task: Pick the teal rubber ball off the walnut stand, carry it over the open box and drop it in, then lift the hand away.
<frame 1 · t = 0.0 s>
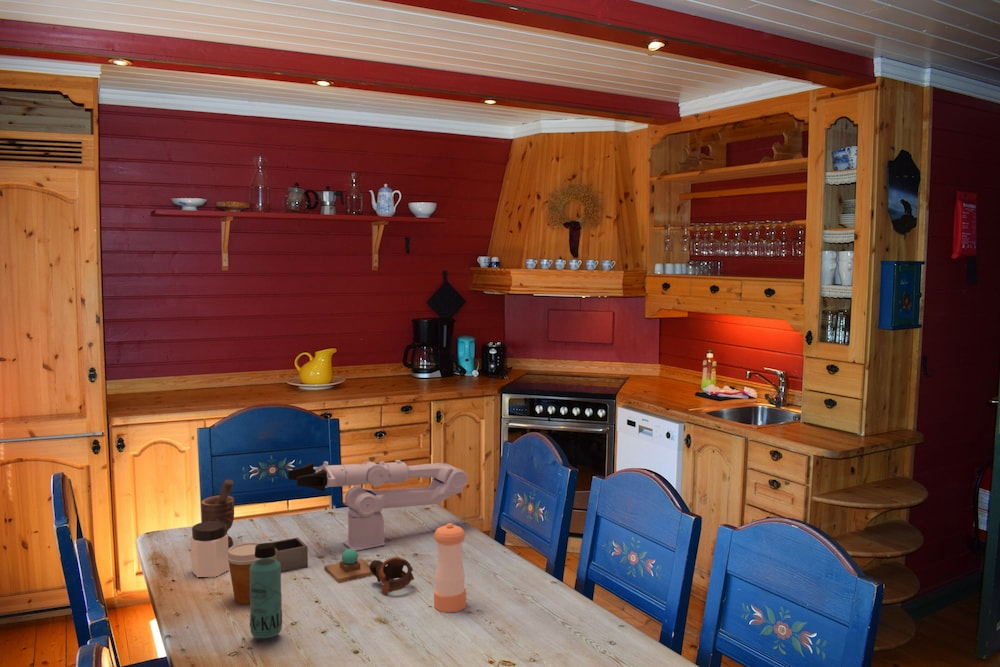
hand: (292, 478, 207), 22 cm above the table, tool horizontal, fingers open, 7 cm apart
pottery mug: (391, 588, 190), on the table
mortar and pestle: (223, 547, 217), on the table
beverage bottle: (266, 639, 163), on the table
ball: (349, 556, 199), point 4 cm above the table, touching stand
disposable coffee cup: (249, 599, 183), on the table
jar: (210, 572, 199), on the table
stand: (350, 572, 199), on the table
open box: (287, 565, 204), on the table
salt shaker: (450, 606, 179), on the table
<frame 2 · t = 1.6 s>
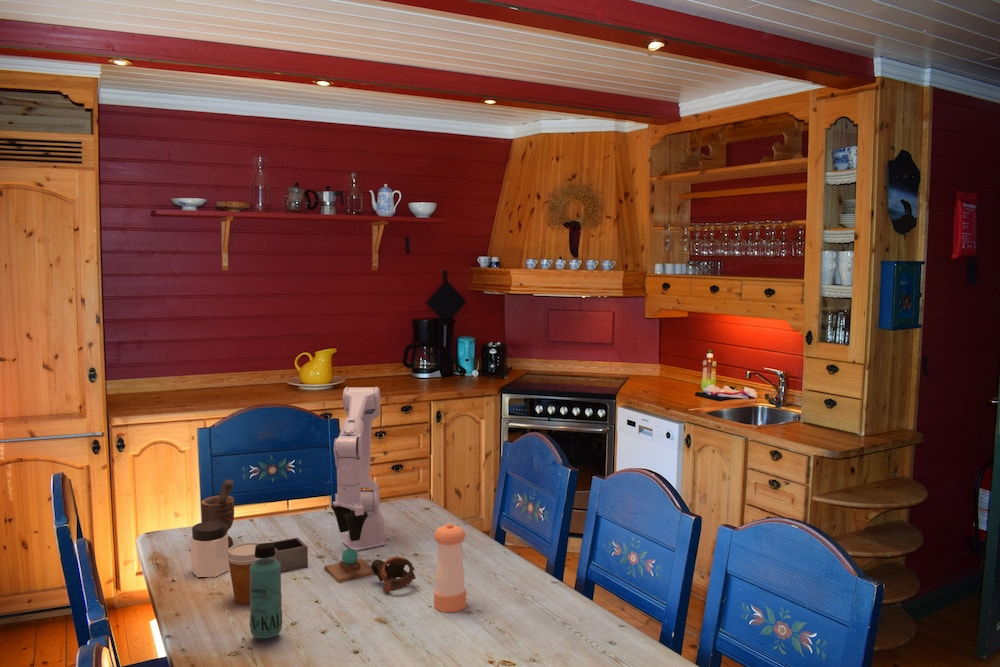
hand: (349, 535, 198), 9 cm above the table, tool pointing down, fingers open, 7 cm apart
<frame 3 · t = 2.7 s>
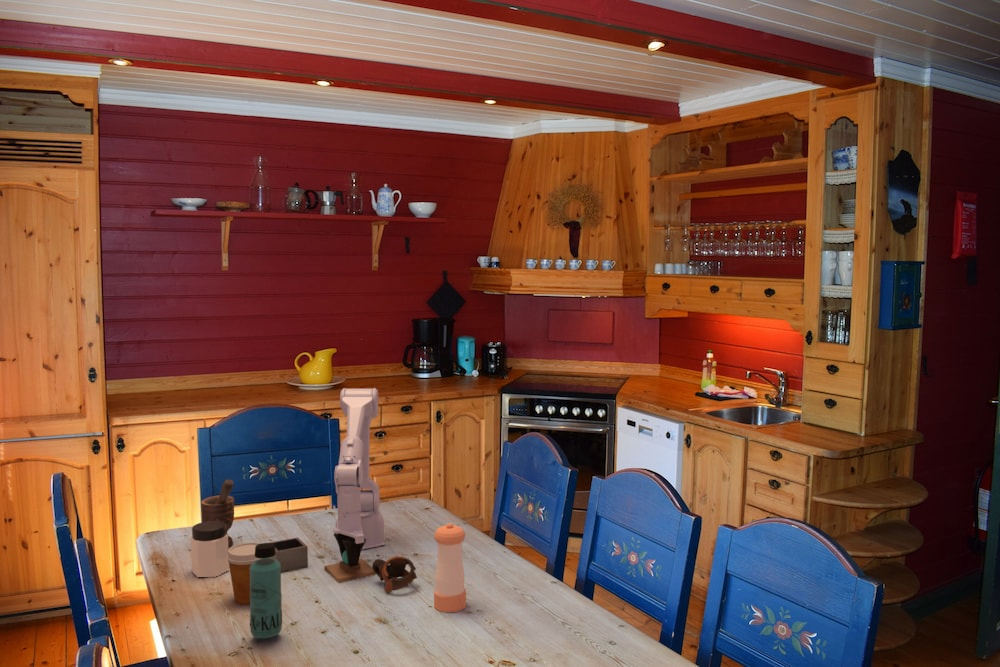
hand: (350, 562, 199), 2 cm above the table, tool pointing down, fingers closed on ball, stand, 4 cm apart
ball: (349, 556, 199), point 4 cm above the table, touching gripper, stand
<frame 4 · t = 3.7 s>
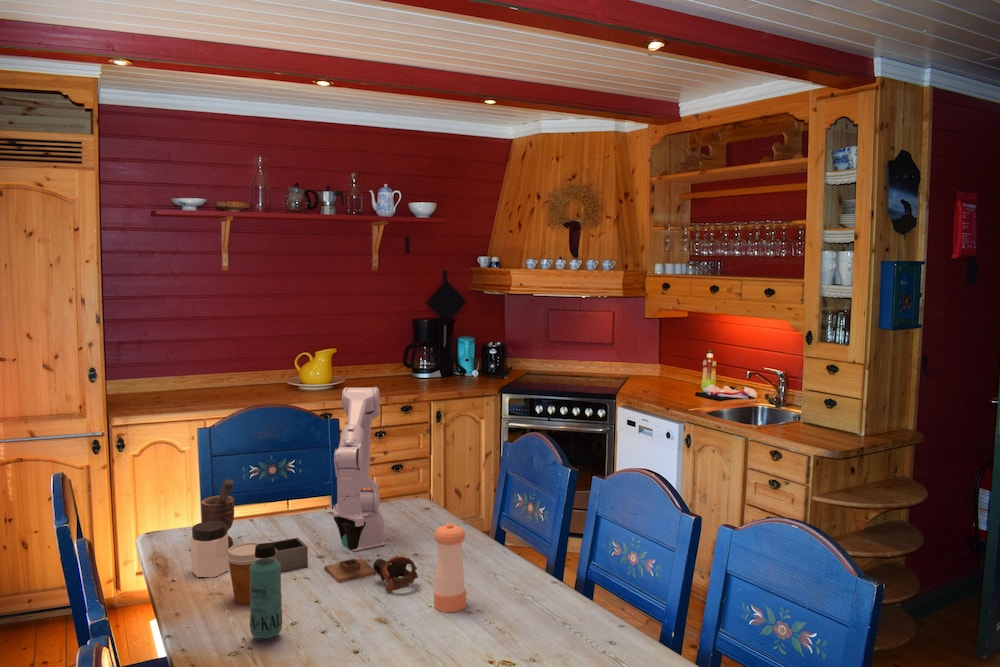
hand: (349, 546, 199), 7 cm above the table, tool pointing down, fingers closed on ball, 4 cm apart
ball: (349, 540, 198), point 8 cm above the table, touching gripper
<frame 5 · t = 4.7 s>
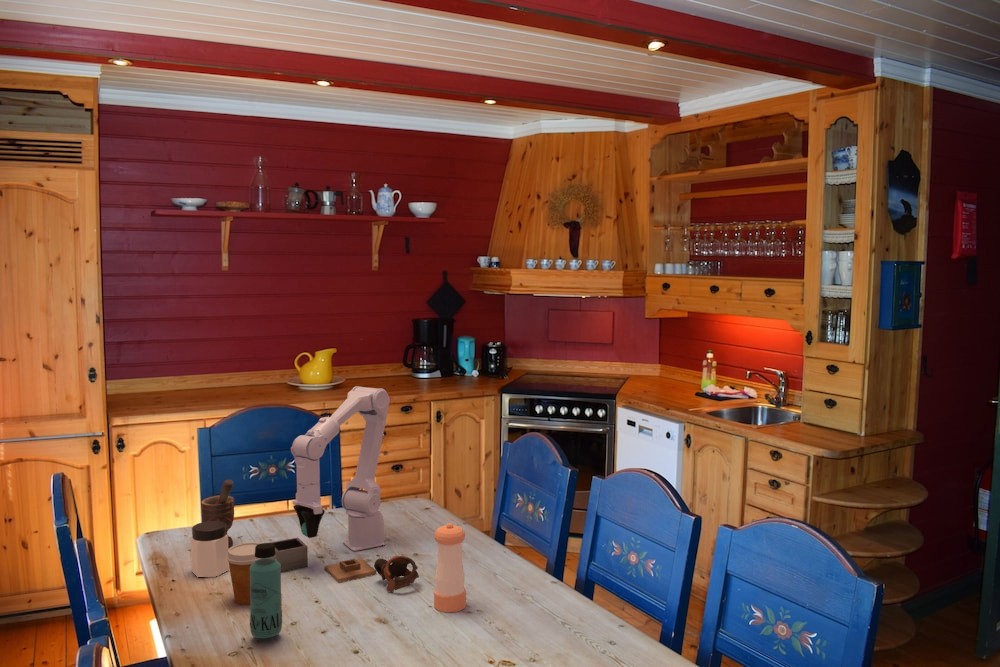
hand: (309, 534, 201), 9 cm above the table, tool pointing down, fingers closed on ball, 4 cm apart
ball: (309, 528, 201), point 10 cm above the table, touching gripper
when the fingers open (7 cm above the table, at t = 5.9 s): ball drops 6 cm, resting on open box.
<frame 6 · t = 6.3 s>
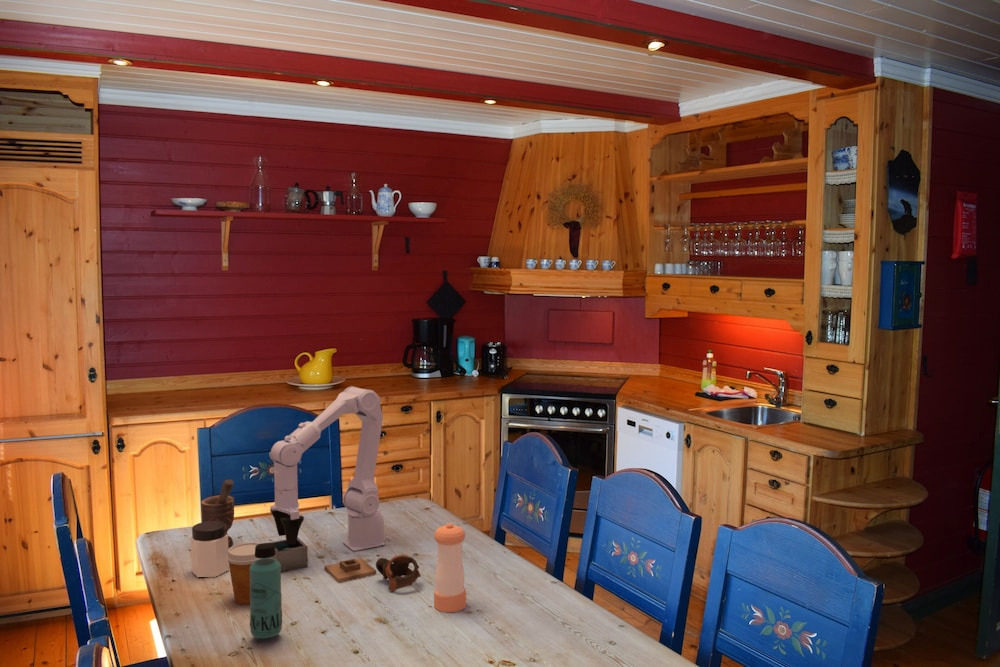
hand: (287, 539, 203), 7 cm above the table, tool pointing down, fingers open, 7 cm apart
ball: (287, 555, 203), point 2 cm above the table, touching open box
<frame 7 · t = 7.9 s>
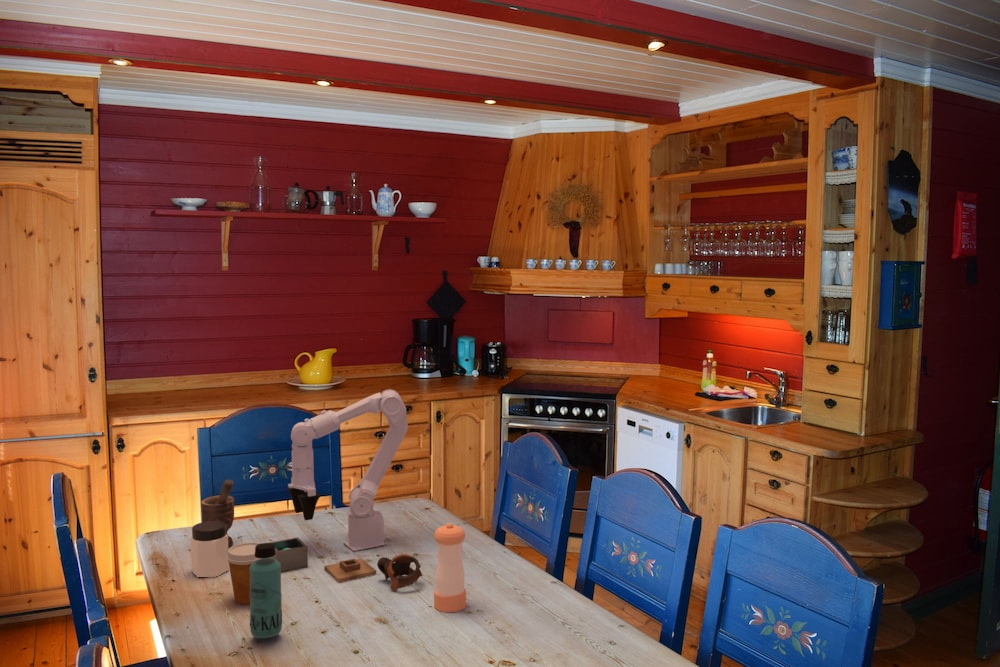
hand: (303, 515, 215), 9 cm above the table, tool pointing down, fingers open, 7 cm apart
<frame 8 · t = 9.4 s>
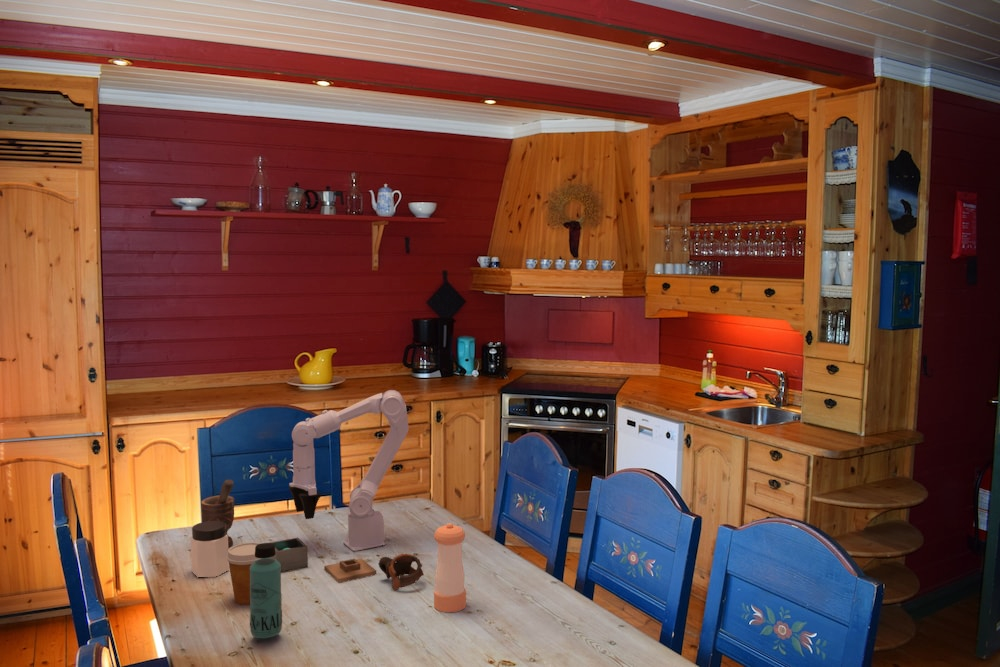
hand: (304, 514, 216), 9 cm above the table, tool pointing down, fingers open, 7 cm apart
at the end: ball 0.1 cm off-centre on the open box, point 2.5 cm above the open box's base; the gripper is holding nothing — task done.
